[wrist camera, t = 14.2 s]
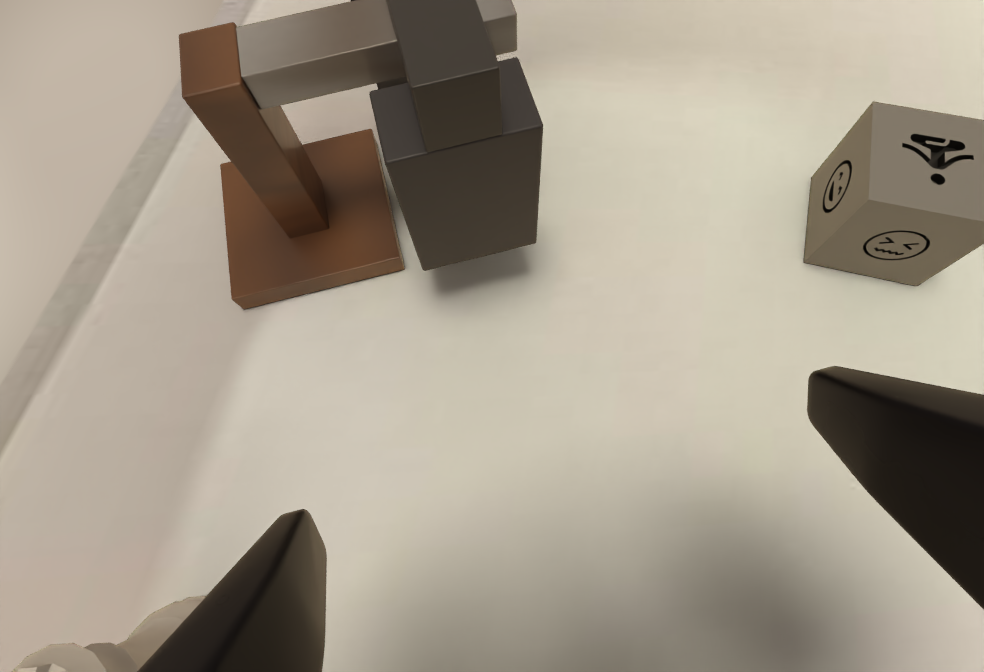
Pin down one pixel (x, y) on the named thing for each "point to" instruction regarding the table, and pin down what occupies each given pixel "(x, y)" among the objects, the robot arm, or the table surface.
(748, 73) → the table surface
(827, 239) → the dice cube
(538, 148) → the dark blocky bridge
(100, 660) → the rook chess piece
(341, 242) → the hanger
